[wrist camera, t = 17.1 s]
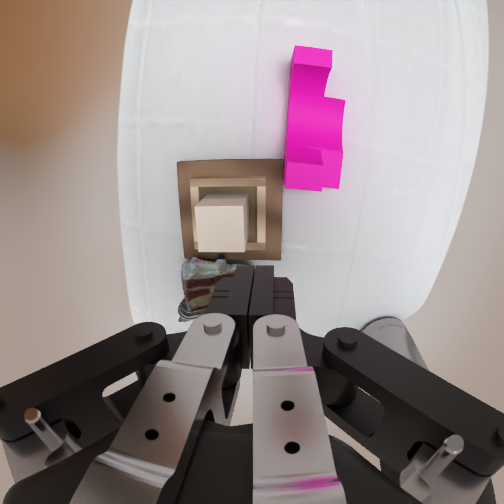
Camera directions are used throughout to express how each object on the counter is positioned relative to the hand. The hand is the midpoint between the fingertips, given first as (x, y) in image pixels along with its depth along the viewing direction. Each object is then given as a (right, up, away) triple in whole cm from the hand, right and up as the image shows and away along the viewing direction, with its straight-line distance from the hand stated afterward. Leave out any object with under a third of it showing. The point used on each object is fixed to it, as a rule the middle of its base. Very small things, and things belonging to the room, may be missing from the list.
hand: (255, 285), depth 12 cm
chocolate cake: (-1, -1, +30) cm, 30 cm away
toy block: (+7, +17, +21) cm, 28 cm away
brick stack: (-3, +6, +25) cm, 26 cm away
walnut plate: (-3, +7, +26) cm, 27 cm away
